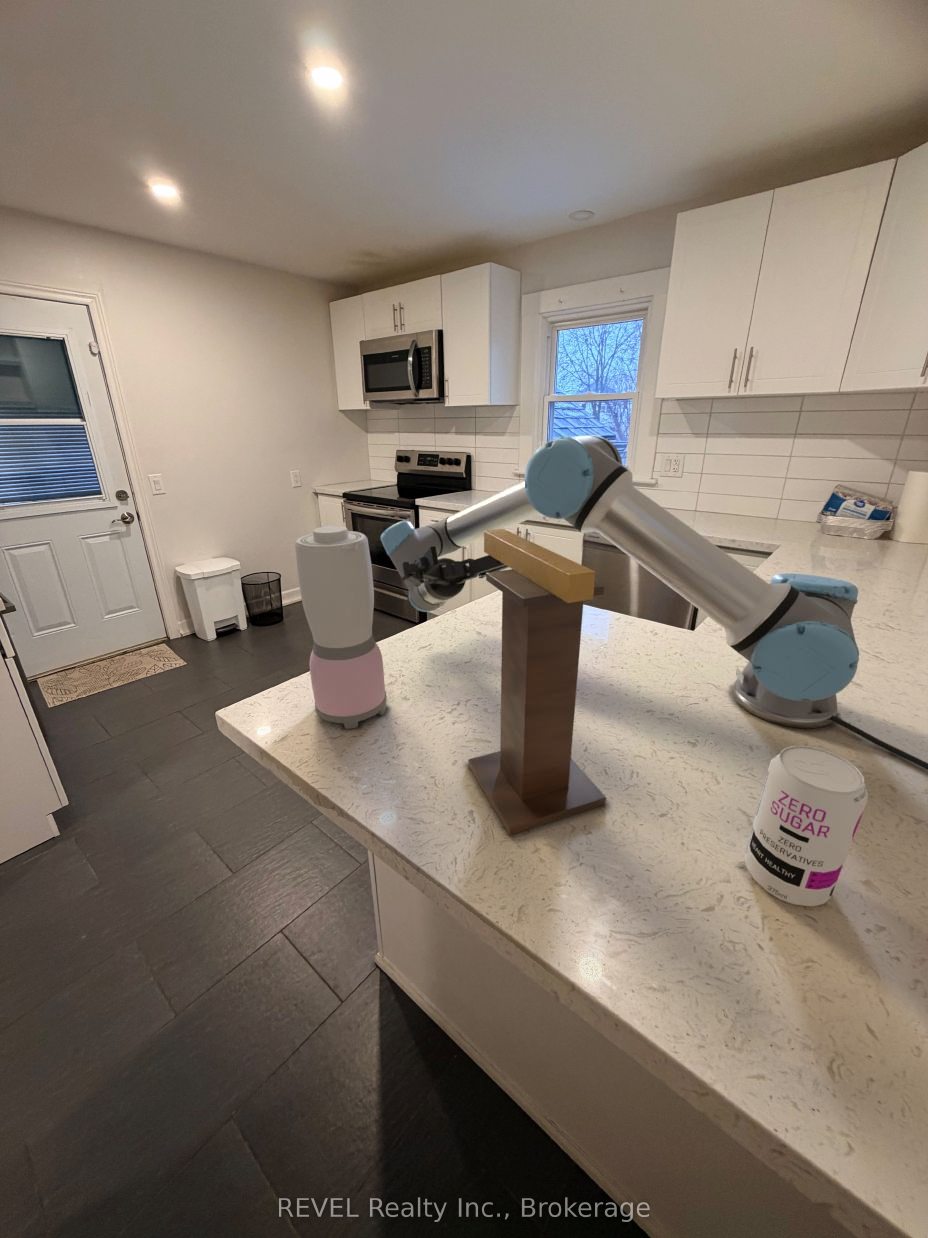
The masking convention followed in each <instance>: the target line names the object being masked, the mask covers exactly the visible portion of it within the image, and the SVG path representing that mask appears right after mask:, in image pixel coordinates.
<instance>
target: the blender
mask: <svg viewBox="0 0 928 1238" xmlns="http://www.w3.org/2000/svg"><path fill="white" fill-rule="evenodd" d="M294 548H295V559H296V560H295V561H296V571H297V578H298V586H299V591H300V599H301V603H302V607H303V611H304V615H305V618H306V619H307V620H306V621H307V623H308V626H309V629H310V632H311V636H312V639H313V646H312V650H311V653H310V657H309V675H310V681H311V687H312V692H313V693H312V694H313V698H314V708H315V712H316V714H317V716H318V717H320V718H321V719H322V720H324V721H327V722H330V723H336V724H343V726H344V729H346V730H347V729H348V730H349V729H350V730H351V729H355V728H359V722H362V721H364V720H367V719H370V718H372V717H374V716H375V715H377V714H378V715H380V716H382V715H384V713H385V711H386V709H387V692H386V686H385V672H384V662H383V655H382V652H381V649H380V646H379V645H378V644H377V642H376V641H375V639H374V635H373V622H374V610H375V609H374V608H375V607H374V606H375V591H374V589H375V587H374V578H373V567H372V559H371V554H370V546H369V539H368V536H366V535H365V534H364V533H362V532H359V531H352V530H348V528H347V527H346V526H344V525H343V526H342V525H326V526H320V527H316V528H314V529H313V531H312V533H309V534H306V535H303V536H300V537H298V538H297V539H296V540H295V542H294Z"/></svg>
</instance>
